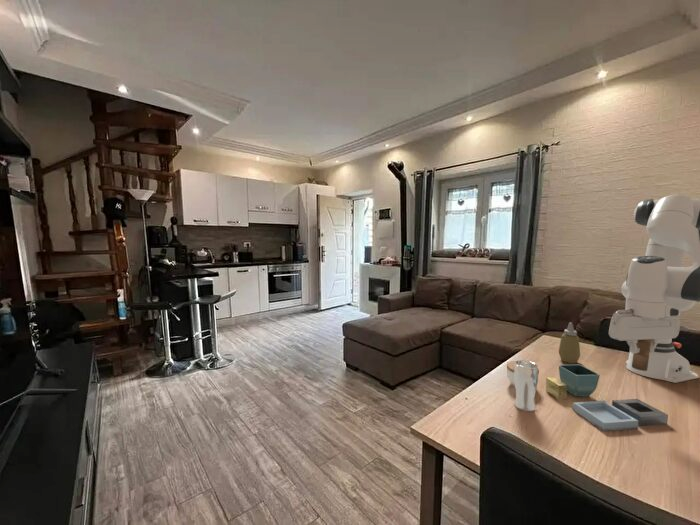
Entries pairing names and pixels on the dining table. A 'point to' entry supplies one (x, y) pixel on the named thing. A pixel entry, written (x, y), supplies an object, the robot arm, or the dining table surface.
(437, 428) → the dining table surface
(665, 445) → the dining table surface
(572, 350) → the squeeze bottle
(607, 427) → the tray
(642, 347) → the dowel
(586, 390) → the flower pot
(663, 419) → the socket block
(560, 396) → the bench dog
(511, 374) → the lidded jar
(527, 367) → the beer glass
